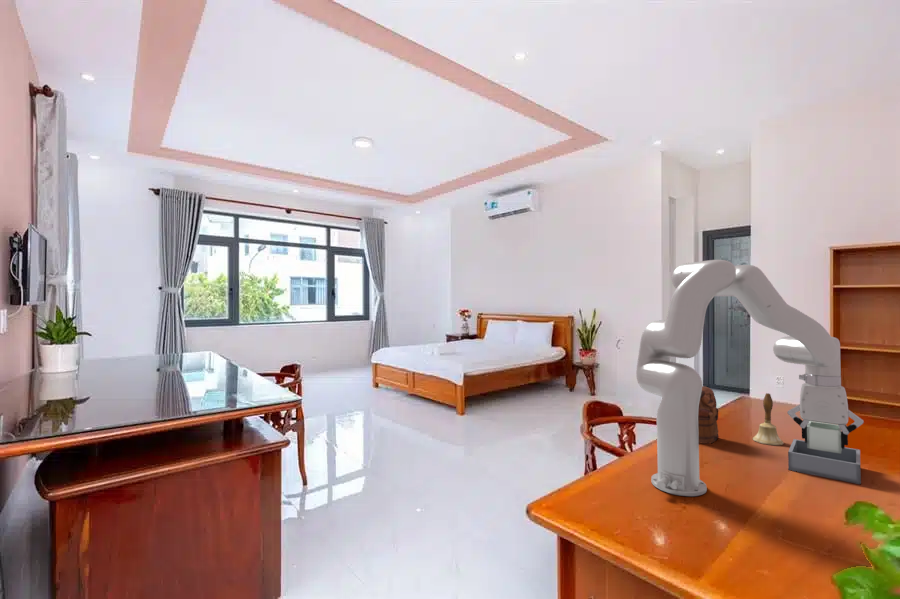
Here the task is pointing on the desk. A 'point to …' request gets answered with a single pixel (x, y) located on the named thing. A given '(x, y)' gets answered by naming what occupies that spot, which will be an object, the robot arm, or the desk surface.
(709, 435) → the wooden figurine
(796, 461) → the box
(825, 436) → the small crate
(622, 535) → the desk surface
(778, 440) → the hand bell
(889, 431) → the desk surface
